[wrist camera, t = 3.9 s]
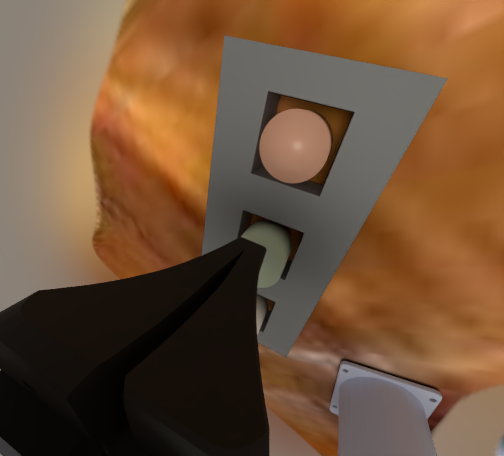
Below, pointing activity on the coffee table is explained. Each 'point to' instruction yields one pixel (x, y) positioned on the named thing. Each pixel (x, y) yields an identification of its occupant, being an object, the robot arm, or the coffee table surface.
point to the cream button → (260, 311)
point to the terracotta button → (295, 145)
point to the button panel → (308, 192)
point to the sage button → (270, 249)
